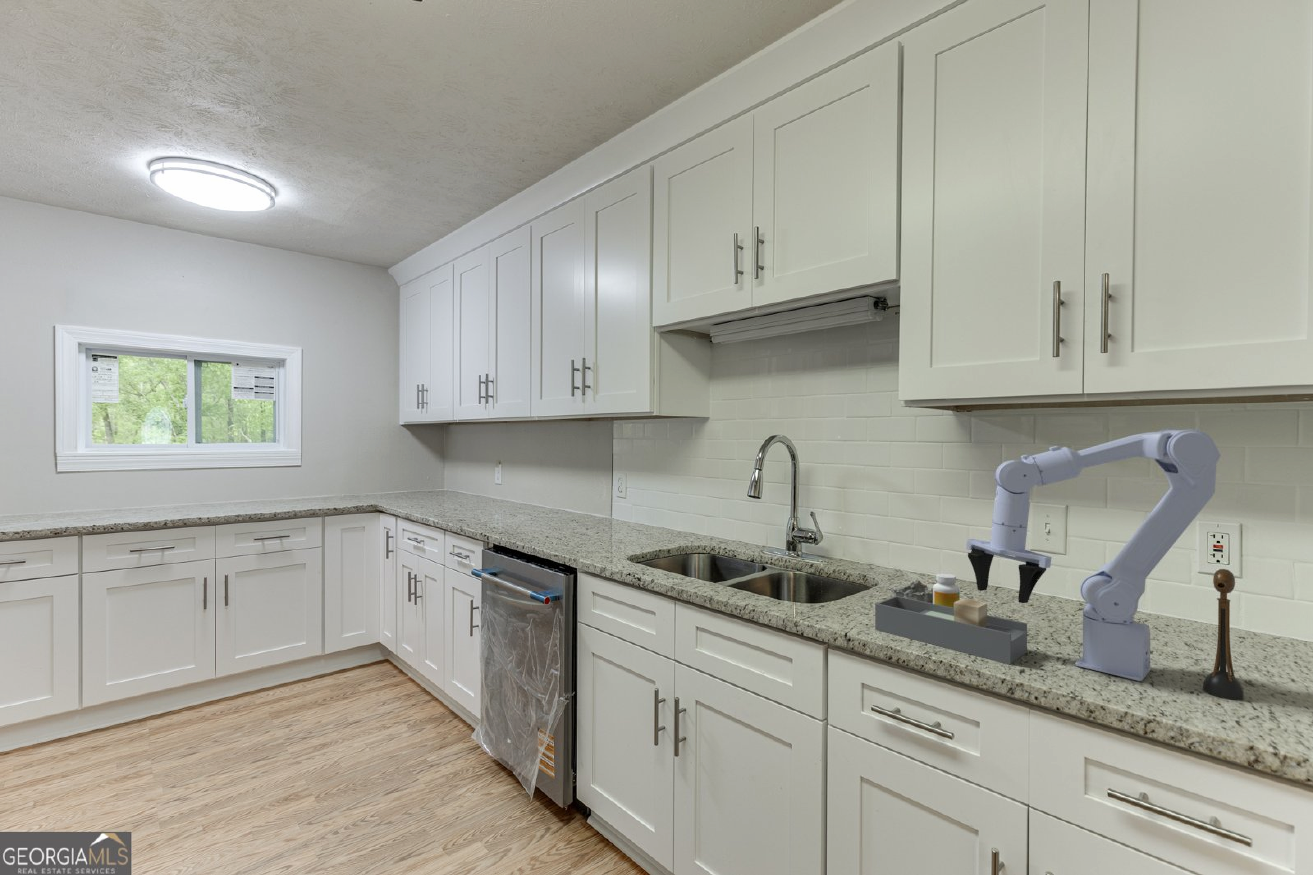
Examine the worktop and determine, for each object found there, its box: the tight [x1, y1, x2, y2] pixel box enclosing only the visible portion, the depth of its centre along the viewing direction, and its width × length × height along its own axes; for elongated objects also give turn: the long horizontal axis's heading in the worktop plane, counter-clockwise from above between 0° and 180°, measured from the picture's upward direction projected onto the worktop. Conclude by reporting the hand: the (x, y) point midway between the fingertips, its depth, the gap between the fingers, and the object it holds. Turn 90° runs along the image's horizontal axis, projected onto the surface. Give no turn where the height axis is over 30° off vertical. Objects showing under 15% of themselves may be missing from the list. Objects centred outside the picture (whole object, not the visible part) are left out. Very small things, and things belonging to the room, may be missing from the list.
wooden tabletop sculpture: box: [1202, 568, 1244, 701], centre depth 96 cm, size 6×5×20 cm
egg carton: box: [890, 580, 933, 603], centre depth 150 cm, size 11×8×4 cm
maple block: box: [954, 598, 988, 628], centre depth 118 cm, size 4×4×4 cm
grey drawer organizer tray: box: [874, 596, 1028, 665], centre depth 121 cm, size 26×9×6 cm, turn 42°
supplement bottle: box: [932, 573, 961, 608], centre depth 135 cm, size 5×5×10 cm
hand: (1002, 596), depth 114 cm, fingers open, 7 cm apart
